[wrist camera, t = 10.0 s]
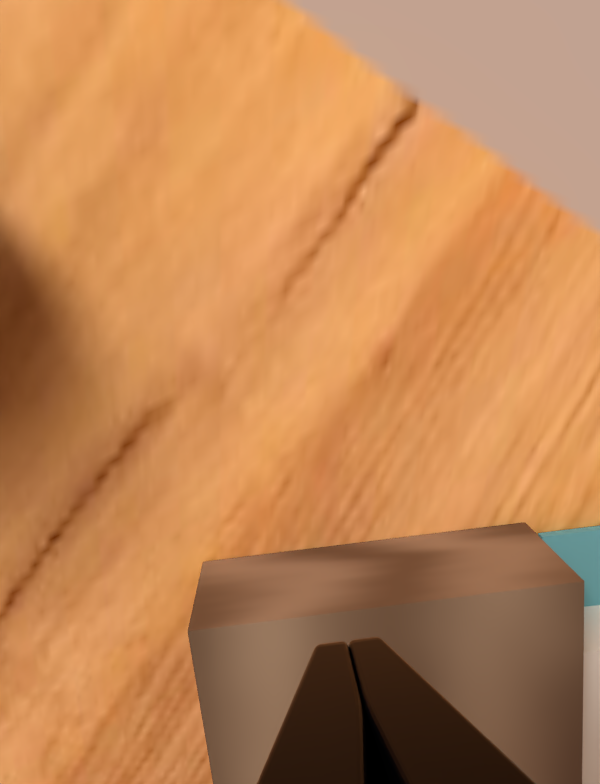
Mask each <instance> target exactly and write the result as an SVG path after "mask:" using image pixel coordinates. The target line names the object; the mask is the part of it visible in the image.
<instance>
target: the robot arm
mask: <svg viewBox="0 0 600 784" xmlns="http://www.w3.org/2000/svg"><path fill="white" fill-rule="evenodd" d="M257 784H536V783H535V782H534V781H533V780H532V779H531V778H530V777H529V776H528V775H526V774H525V773H524V772H523V771H522V770H521V769H520V768H519V767H518V766H517V765H516V764H515V763H514V762H513V761H512V760H510V759H509V758H508V757H507V756H506V755H505V754H504V753H503V752H502V751H501V750H500V749H499V748H498V747H497V746H496V745H494V744H493V743H492V742H491V741H490V740H489V739H488V738H487V737H486V736H485V735H484V734H483V733H482V732H481V731H480V730H478V729H477V728H476V727H475V726H474V725H473V724H472V723H471V722H470V721H469V720H468V719H467V718H466V717H465V716H464V715H462V714H461V713H460V712H459V711H458V710H457V709H456V708H455V707H454V706H453V705H452V704H451V703H450V702H449V701H447V700H446V699H445V698H444V697H443V696H442V695H441V694H440V693H439V692H438V691H437V690H436V689H435V688H434V687H433V686H431V685H430V684H429V683H428V682H427V681H426V680H425V679H424V678H423V677H422V676H421V675H420V674H419V673H418V672H417V671H415V670H414V669H413V668H412V667H411V666H410V665H409V664H408V663H407V662H406V661H405V660H404V659H403V658H402V657H401V656H399V655H398V654H397V653H396V652H395V651H394V650H393V649H392V648H391V647H390V646H389V645H388V644H387V643H386V642H385V641H383V640H382V639H381V638H379V637H371V638H364V639H356V640H352V641H351V642H350V643H349V647H348V645H347V643H346V642H344V641H340V642H332V643H325V644H319V645H317V646H316V647H315V649H314V651H313V653H312V655H311V658H310V660H309V662H308V665H307V667H306V669H305V672H304V674H303V676H302V679H301V681H300V683H299V686H298V688H297V690H296V693H295V695H294V697H293V700H292V702H291V704H290V707H289V709H288V711H287V714H286V716H285V719H284V721H283V723H282V726H281V728H280V730H279V733H278V735H277V737H276V740H275V742H274V744H273V747H272V749H271V751H270V754H269V756H268V758H267V761H266V763H265V765H264V768H263V770H262V772H261V775H260V777H259V780H258V782H257Z"/></svg>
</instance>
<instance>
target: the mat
mask: <svg viewBox="0 0 600 784" xmlns="http://www.w3.org/2000/svg"><path fill="white" fill-rule="evenodd" d="M538 536H539V537H540V538H541V539H542V540H543V541H544V542H545V543H546V544H547V545H548V546H549V547H550V548H551V549H552V550H553V551H554V552H555V553H556V554H557V555H558V556H559V557H560V558H561V559H562V560H563V561H564V562H565V563H566V564H567V565H569V566H570V567H571V568H572V569H573V570H574V571H575V572H576V573H577V574H578V575H579V576H580V577H581V578H582V579H583V580H584V607H587V606H596V605H600V526H593V527H584V528H576V529H568V530H560V531H552V532H544V533H538Z"/></svg>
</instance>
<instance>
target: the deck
mask: <svg viewBox="0 0 600 784" xmlns="http://www.w3.org/2000/svg"><path fill="white" fill-rule="evenodd" d="M188 636H189V642H190V648H191V654H192V660H193V666H194V672H195V678H196V684H197V690H198V696H199V702H200V708H201V714H202V719H203V725H204V731H205V737H206V743H207V749H208V755H209V761H210V767H211V773H212V779H213V784H257V782H258V780H259V777H260V775H261V772H262V770H263V768H264V765H265V763H266V761H267V758H268V756H269V754H270V751H271V749H272V747H273V744H274V742H275V740H276V737H277V735H278V733H279V730H280V728H281V726H282V723H283V721H284V719H285V716H286V714H287V711H288V709H289V707H290V704H291V702H292V700H293V697H294V695H295V693H296V690H297V688H298V686H299V683H300V681H301V679H302V676H303V674H304V672H305V669H306V667H307V665H308V662H309V660H310V658H311V655H312V653H313V651H314V649H315V647H316V646H317V645H319V644H325V643H332V642H340V641H344V642H346V643H347V645H348V647H349V643H350V642H351V641H352V640H356V639H364V638H371V637H379V638H381V639H382V640H383V641H385V642H386V643H387V644H388V645H389V646H390V647H391V648H392V649H393V650H394V651H395V652H396V653H397V654H398V655H399V656H401V657H402V658H403V659H404V660H405V661H406V662H407V663H408V664H409V665H410V666H411V667H412V668H413V669H414V670H415V671H417V672H418V673H419V674H420V675H421V676H422V677H423V678H424V679H425V680H426V681H427V682H428V683H429V684H430V685H431V686H433V687H434V688H435V689H436V690H437V691H438V692H439V693H440V694H441V695H442V696H443V697H444V698H445V699H446V700H447V701H449V702H450V703H451V704H452V705H453V706H454V707H455V708H456V709H457V710H458V711H459V712H460V713H461V714H462V715H464V716H465V717H466V718H467V719H468V720H469V721H470V722H471V723H472V724H473V725H474V726H475V727H476V728H477V729H478V730H480V731H481V732H482V733H483V734H484V735H485V736H486V737H487V738H488V739H489V740H490V741H491V742H492V743H493V744H494V745H496V746H497V747H498V748H499V749H500V750H501V751H502V752H503V753H504V754H505V755H506V756H507V757H508V758H509V759H510V760H512V761H513V762H514V763H515V764H516V765H517V766H518V767H519V768H520V769H521V770H522V771H523V772H524V773H525V774H526V775H528V776H529V777H530V778H531V779H532V780H533V781H534V782H535V783H536V784H582V746H583V660H584V580H583V579H582V578H581V577H580V576H579V575H578V574H577V573H576V572H575V571H574V570H573V569H572V568H571V567H570V566H569V565H567V564H566V563H565V562H564V561H563V560H562V559H561V558H560V557H559V556H558V555H557V554H556V553H555V552H554V551H553V550H552V549H551V548H550V547H549V546H548V545H547V544H546V543H545V542H544V541H543V540H542V539H541V538H540V537H539V536H538V535H537V534H536V533H535V532H534V531H533V530H532V529H531V528H530V527H529V526H528V525H527V524H526V523H517V524H509V525H501V526H492V527H484V528H476V529H468V530H460V531H452V532H443V533H435V534H427V535H419V536H411V537H403V538H394V539H386V540H378V541H370V542H362V543H353V544H345V545H337V546H329V547H321V548H313V549H304V550H296V551H288V552H280V553H272V554H264V555H255V556H247V557H239V558H231V559H223V560H214V561H206V562H203V564H202V569H201V573H200V578H199V582H198V587H197V591H196V596H195V600H194V605H193V610H192V614H191V619H190V623H189V628H188Z"/></svg>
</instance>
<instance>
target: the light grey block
mask: <svg viewBox="0 0 600 784" xmlns="http://www.w3.org/2000/svg"><path fill="white" fill-rule="evenodd" d="M582 784H600V605H596V606H587V607H584V660H583V746H582Z"/></svg>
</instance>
